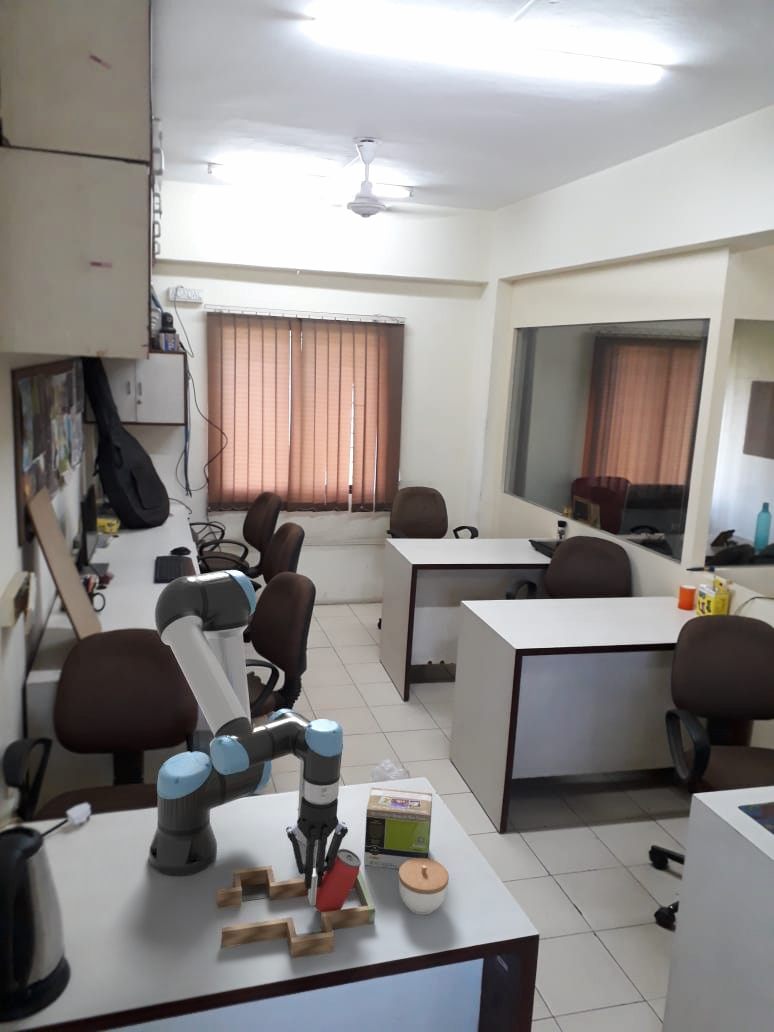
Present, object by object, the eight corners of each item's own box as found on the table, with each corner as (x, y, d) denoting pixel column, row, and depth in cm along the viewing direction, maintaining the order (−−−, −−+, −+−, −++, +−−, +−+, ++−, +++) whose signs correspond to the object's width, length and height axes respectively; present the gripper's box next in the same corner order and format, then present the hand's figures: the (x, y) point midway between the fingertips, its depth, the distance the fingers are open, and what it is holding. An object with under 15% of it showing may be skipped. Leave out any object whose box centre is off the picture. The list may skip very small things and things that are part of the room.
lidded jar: (439, 887, 172) (442, 849, 170) (451, 921, 161) (454, 881, 159) (392, 889, 170) (395, 852, 168) (401, 924, 159) (404, 884, 158)
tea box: (429, 847, 186) (433, 792, 183) (427, 874, 176) (432, 816, 173) (367, 840, 187) (371, 785, 184) (362, 866, 177) (366, 808, 174)
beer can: (342, 906, 164) (366, 858, 163) (334, 922, 158) (359, 872, 157) (315, 890, 165) (339, 842, 164) (307, 906, 159) (331, 856, 158)
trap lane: (224, 969, 145) (224, 953, 144) (215, 886, 167) (215, 872, 166) (381, 943, 154) (383, 928, 153) (353, 868, 176) (354, 854, 175)
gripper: (292, 808, 150) (284, 916, 154) (354, 803, 154) (345, 909, 158) (286, 788, 157) (279, 892, 161) (345, 784, 161) (337, 886, 165)
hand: (311, 900), depth 159 cm, fingers closed
